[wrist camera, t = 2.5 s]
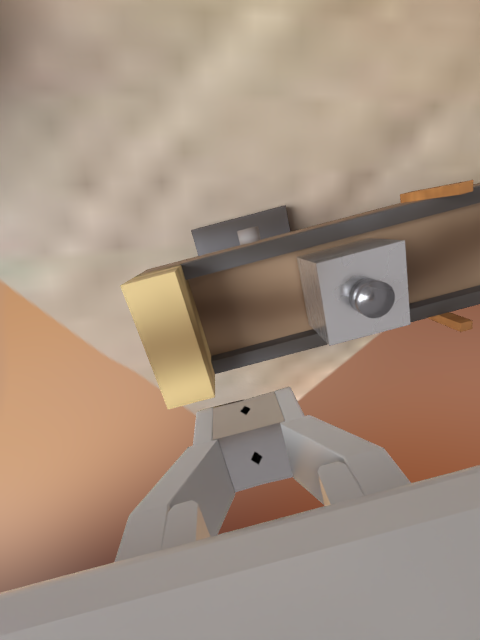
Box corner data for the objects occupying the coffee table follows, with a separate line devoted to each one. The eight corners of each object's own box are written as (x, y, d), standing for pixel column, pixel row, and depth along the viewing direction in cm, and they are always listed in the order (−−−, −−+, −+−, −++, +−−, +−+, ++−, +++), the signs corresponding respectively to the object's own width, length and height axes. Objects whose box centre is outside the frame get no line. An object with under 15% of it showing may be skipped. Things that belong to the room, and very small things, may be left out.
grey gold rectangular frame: (157, 239, 28) (105, 248, 15) (405, 174, 28) (575, 124, 15) (193, 349, 32) (177, 435, 19) (412, 291, 32) (554, 335, 19)
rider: (296, 256, 20) (324, 266, 15) (368, 238, 20) (419, 241, 15) (309, 324, 21) (337, 353, 16) (375, 307, 21) (424, 331, 16)
